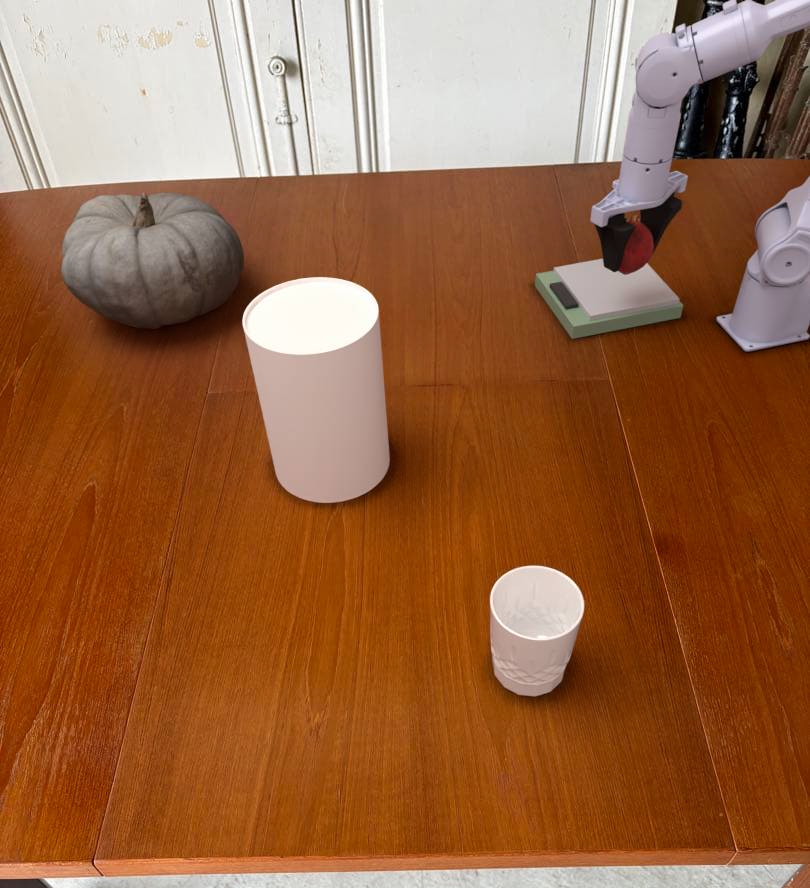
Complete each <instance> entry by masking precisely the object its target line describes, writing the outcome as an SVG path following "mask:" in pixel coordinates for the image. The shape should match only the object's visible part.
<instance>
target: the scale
mask: <svg viewBox="0 0 810 888" xmlns="http://www.w3.org/2000/svg"><path fill="white" fill-rule="evenodd" d="M534 287H535V289H536V290H537V292H538V293H539V294H540V296H541V297H542V299H543V300H544V301H545V303H546V304H547V306H548V307H549V308H550V310H551V312H552V313H553V314H554V316H555V317H556V319H557V320H558V321H559V323H560V324H561V326H562V327H563V328H564V330H565V331H566V333H567V334H568V336H569V337H570V338H571V340H574V339H579V338H584V337H590V336H594V335H600V334H604V333H610V332H615V331H620V330H625V329H630V328H636V327H641V326H645V325H646V326H647V325H650V324H651V325H652V324H656V323H661V322H666V321H671V320H676V319H680V318H681V317H682V313H683V309H684V304H683V303H682V302H681V301H680V298H679V296H678V295H677V294H676V293H675V292H674V291H673V290H672V289H671V287H670V286H669V285H668V284H667V283H666V282H665V281H664V280H663V279H662V278H661V277H660V275H659V274H658V273H657V272H656V271H655V270H654V269H653V267H651V265H649V263H648V262H647V263H646V265H645V266H644V267H642V268H641V269H639V270H637V271H636V272H633V273H630V274H627V275H624V274H622V273H620V272H619V271H617V272H612V271H611V270H609V269H607V268H605V267H604V264H603V258H598V259H593V260H588V261H587V260H586V261H582V262H576V263H570V264H565V265H561V266H555V267H553V270H548V271H543V272H538V273H535V279H534Z"/></svg>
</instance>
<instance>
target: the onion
mask: <svg viewBox="0 0 810 888" xmlns="http://www.w3.org/2000/svg"><path fill="white" fill-rule="evenodd" d="M640 219H641V217H640V214H638V213H635V214H633V215H631V217H630V220H629V221H627V222H628V223H630V224H632V225H634V226H636V228H635V230H634V231H633V233H632V235H631V236H630V238H629V240H628V243H627V245H626V248H625V251H624V255H623V259H622V263H621V266H620V268H619V270H618V271H619V272H620V273H622V274H624V275H627V274H630V273H633V272H636V271H637V270H639V269H641V268H642V267H644V266H645V265H646V263H647V264H648V262H649V261H650V260H651V258H652V256H653V255H654V253H653V249H654V243H653V237H652V234H651V232H650V230H649V229H648V228H647V227H646V226H645V225H644V224H643V223H641V222H640ZM652 254H653V255H652Z"/></svg>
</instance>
